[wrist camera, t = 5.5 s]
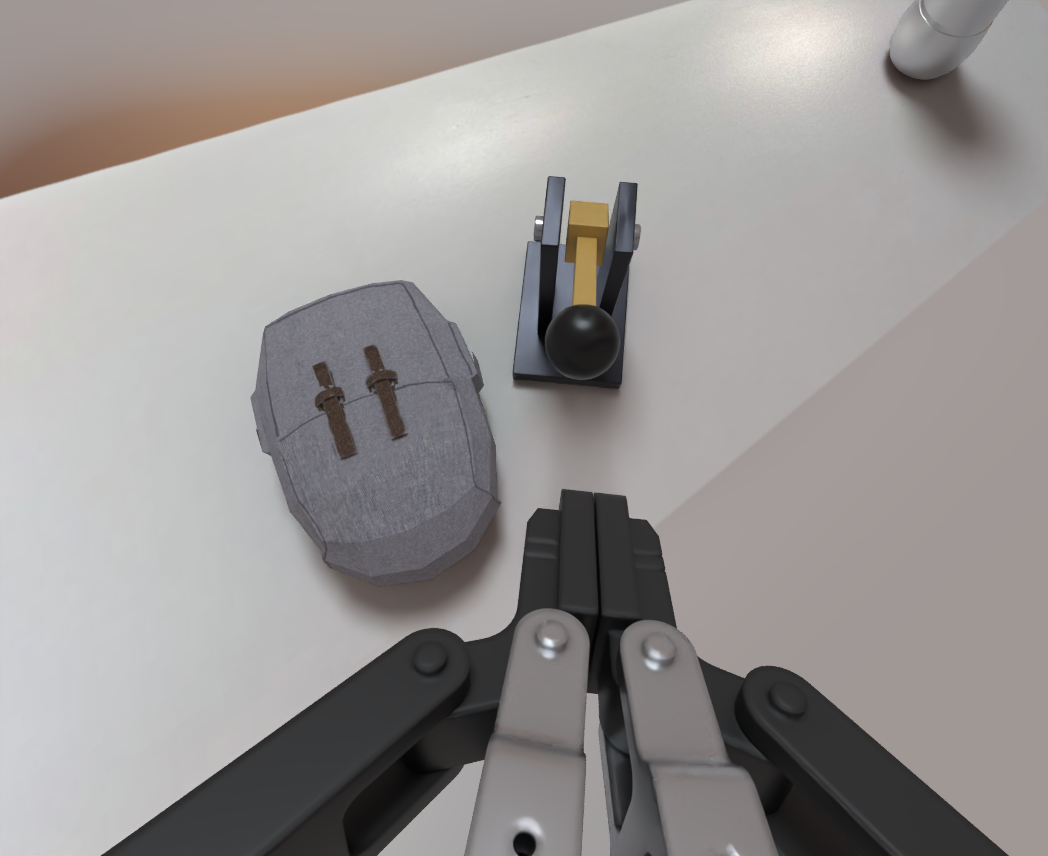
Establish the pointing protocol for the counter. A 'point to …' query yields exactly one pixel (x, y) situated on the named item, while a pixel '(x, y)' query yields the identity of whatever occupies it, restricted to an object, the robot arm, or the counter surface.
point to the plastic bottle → (940, 35)
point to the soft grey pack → (378, 432)
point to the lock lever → (584, 301)
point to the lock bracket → (554, 284)
